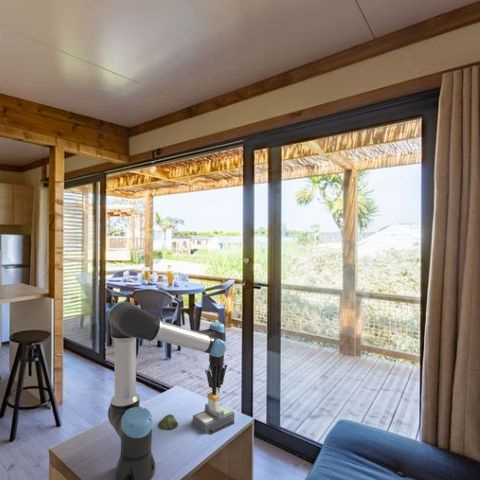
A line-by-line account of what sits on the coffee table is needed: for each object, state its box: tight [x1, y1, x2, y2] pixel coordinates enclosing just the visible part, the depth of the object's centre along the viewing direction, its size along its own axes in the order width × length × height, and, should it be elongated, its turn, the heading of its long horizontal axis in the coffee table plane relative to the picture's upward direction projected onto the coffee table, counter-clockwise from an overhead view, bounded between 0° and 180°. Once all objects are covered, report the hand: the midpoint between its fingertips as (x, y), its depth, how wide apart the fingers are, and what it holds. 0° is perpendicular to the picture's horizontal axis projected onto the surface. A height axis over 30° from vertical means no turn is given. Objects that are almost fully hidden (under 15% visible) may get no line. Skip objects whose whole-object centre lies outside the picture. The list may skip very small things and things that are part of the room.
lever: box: [206, 391, 220, 415], centre depth 168 cm, size 2×8×9 cm, turn 42°
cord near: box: [209, 419, 235, 435], centre depth 164 cm, size 14×2×2 cm, turn 133°
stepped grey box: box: [192, 402, 235, 434], centre depth 169 cm, size 18×12×7 cm, turn 133°
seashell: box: [157, 414, 179, 431], centre depth 165 cm, size 10×4×10 cm
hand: (215, 399), depth 169 cm, fingers closed
